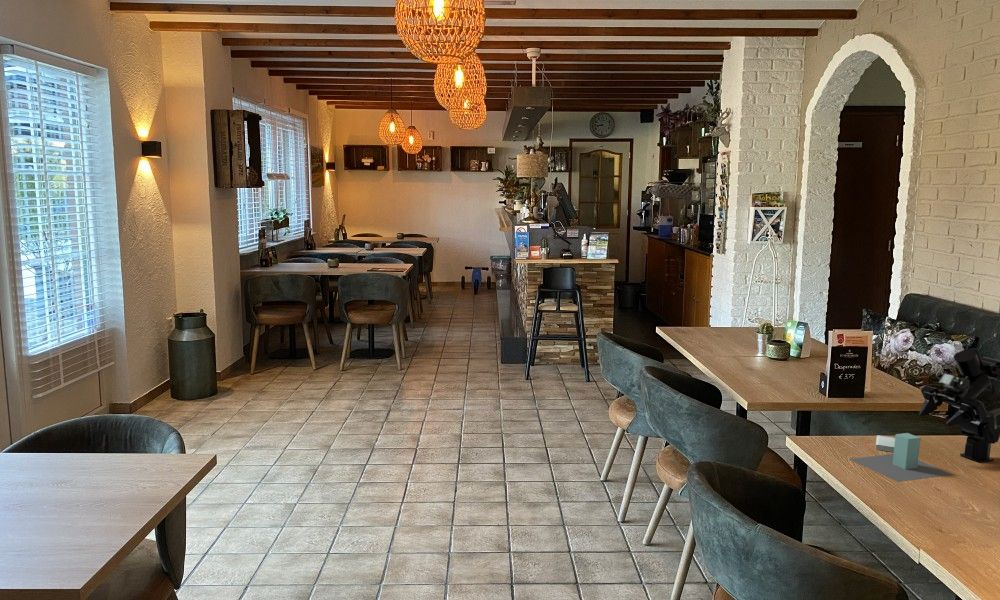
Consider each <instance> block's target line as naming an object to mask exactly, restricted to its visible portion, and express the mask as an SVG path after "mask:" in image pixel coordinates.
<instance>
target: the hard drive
mask: <svg viewBox="0 0 1000 600" xmlns="http://www.w3.org/2000/svg"><path fill="white" fill-rule="evenodd" d="M875 438H876V439H875V450H877V451H885V452H891V453H894V445H895V437H893V436H892V437H891V436H886V435H878V434H877V435H876V437H875Z"/></svg>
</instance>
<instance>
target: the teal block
mask: <svg viewBox="0 0 1000 600" xmlns="http://www.w3.org/2000/svg"><path fill="white" fill-rule="evenodd" d="M894 438H895V445H894V452H893V454H894V455H893V464H894V465H896V466H899V467H901V468H903V469H912V468H917V467H918V460H919V456H920V455H919V454H920V448H921V446H920V445H921V437H919V436H917V435H914V434H911V433H909V432H903V433H895V437H894Z"/></svg>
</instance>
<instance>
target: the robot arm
mask: <svg viewBox="0 0 1000 600" xmlns="http://www.w3.org/2000/svg"><path fill="white" fill-rule="evenodd" d="M953 359H954V362H955V364H956V366H957V369H958V370H959V373H960V375H961V376H964V377H958V376H954V375H951V374H949V373H943V374H942V375H941V377H940V378H939V380H938V382H937V384H938V385H940V386H942V387H943V392H944V393H945V394H942V393H941V392H940V390H939V388H936V387H933V386H930V385H925V386H924V387H923V388H921V389H920V392H921V394H922V396H923V399H924V401H923V405H922V406H921V409H920V411H919V413H918V415H919V417H920V418H922V417H925V416H927V415H928V414H931V413H932V412H934V411H936V410H937V409H938V407H941V406H942V405H943V403H944V404H947V405H950V406H952V407H954V408H957V409H958V411H956V412H955V414H953V415H952V416H951V417H950V418H949V419H948V420H947V421H946V423H945V425H946V426H947V427H953V426H956V425H959V429H960V434H961V435H962V436H965V437H966V441H965V445H964V452H963V453H960V454H959V455H960V456H961V457H964V458H966V459H969V460H971V461H974V462H976V463H985V462H992V461H995V458H994V457H992V456H991V457H990V454H991V447H992V444H993V445H994V444H996V443H998V442H999V440H1000V434H999V432H998V431H997V428H998V427H1000V407H998V408H995V409H993V410H986V408H985V406H984V404H983V402H982V401H980V400H978V396H979V395H980V394H981V393H982V392H983V391H984V390H985V391H987V392H992V391H993V386H992V385H993V383H992V382H991V381H990V379H993V380H998V381H1000V360H999V359H995V358H992V357H986V356H983V357H981V356H980V354H979V350H978V349H977V348H973V347H970V348H969V349H963V350H961V351H957V352H956V353H955V354H954V356H953Z"/></svg>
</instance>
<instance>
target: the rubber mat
mask: <svg viewBox="0 0 1000 600" xmlns="http://www.w3.org/2000/svg"><path fill="white" fill-rule="evenodd" d="M893 455H894V453H888V454H882V455H874V456H873V455H871V456H864V457H856V458H848V460H849V461H852V462H854V463H856V464H858V465H860V466H863V467H864V468H867V469H869V470H871V471H873V472H876V473H878V474H880V475H882V476H885V477H886V478H888V479H891V480H893V481H896V482H897V483H900V482H905V481H906V482H907V481H914V480H920V479H929V478H936V477H945V476H951V475H954V474H953V473H951V472H948V471H946V470H943V469H941V468H938V467H936V466H934V465H932V464H929V463H927V462H924V461H921V460H919V459H918V467H917V468H912V469H903V468H901V467H899V466H896V465H894V464H893Z"/></svg>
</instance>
